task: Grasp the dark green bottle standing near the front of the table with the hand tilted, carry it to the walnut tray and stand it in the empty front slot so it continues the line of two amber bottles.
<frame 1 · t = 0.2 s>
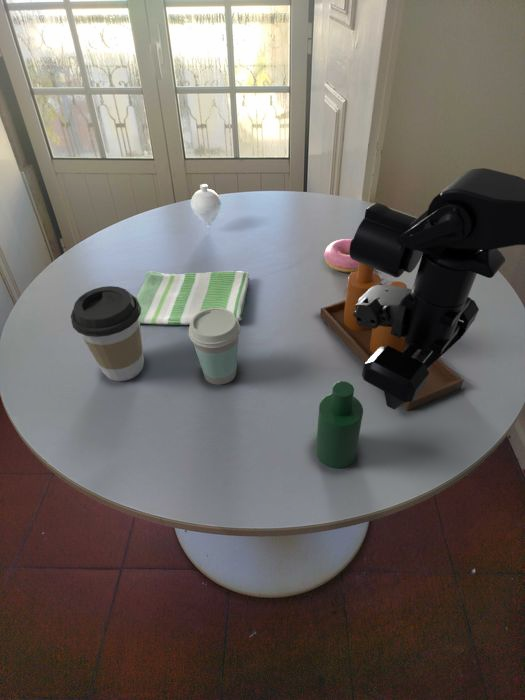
hand: (408, 386, 62), 14 cm above the table, tool pointing down, fingers open, 9 cm apart
doughnut: (347, 263, 110), on the table
spinning top: (209, 229, 125), on the table
dish towel: (192, 301, 101), on the table
green bottle: (335, 451, 71), on the table
coffee cup 2: (124, 368, 86), on the table
tray: (384, 348, 88), on the table
amber bottle 1: (385, 348, 87), resting on tray
coffee cup: (220, 374, 84), on the table
amber bottle 2: (358, 321, 93), resting on tray
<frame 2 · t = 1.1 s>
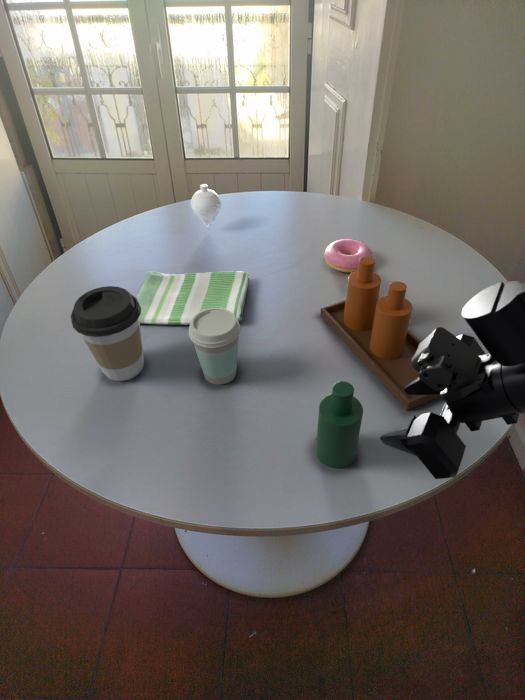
hand: (394, 414, 60), 13 cm above the table, tool tilted 45°, fingers open, 9 cm apart
nothing on the table moved.
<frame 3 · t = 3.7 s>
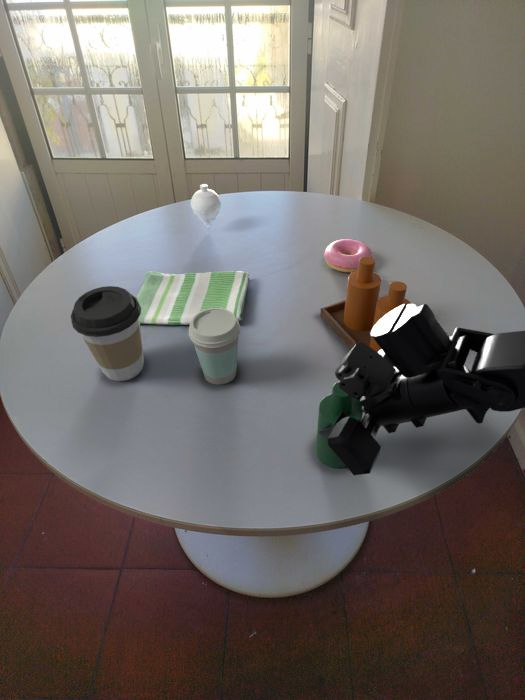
hand: (330, 418, 67), 7 cm above the table, tool tilted 45°, fingers closed on green bottle, 6 cm apart
green bottle: (335, 451, 71), on the table, touching gripper
everything else where it was.
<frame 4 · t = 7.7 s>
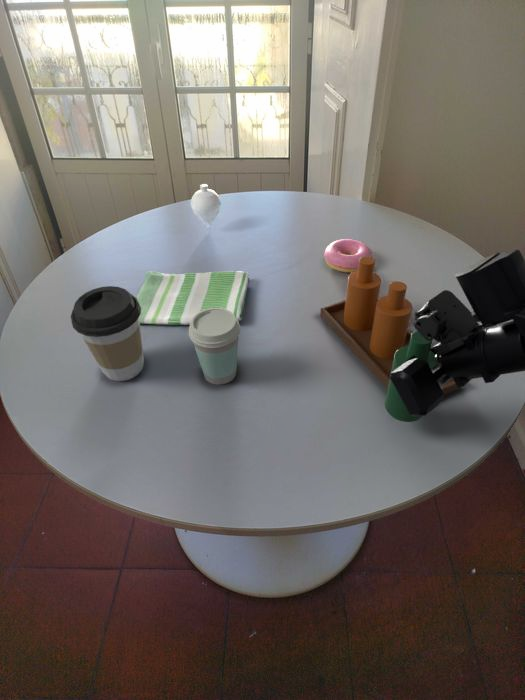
hand: (405, 369, 68), 11 cm above the table, tool tilted 45°, fingers closed on green bottle, 6 cm apart
green bottle: (404, 406, 72), point 4 cm above the table, touching gripper
everything else where it was.
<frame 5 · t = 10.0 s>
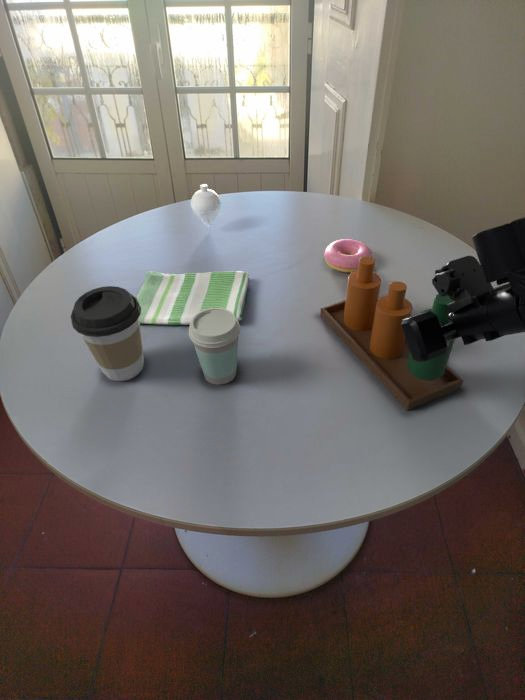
hand: (428, 329, 74), 11 cm above the table, tool tilted 45°, fingers closed on green bottle, 6 cm apart
green bottle: (425, 367, 78), point 4 cm above the table, touching gripper
everything else where it was.
when the fingers open (8 cm above the table, at t = 11.7 s): green bottle stays where it is, resting on tray.
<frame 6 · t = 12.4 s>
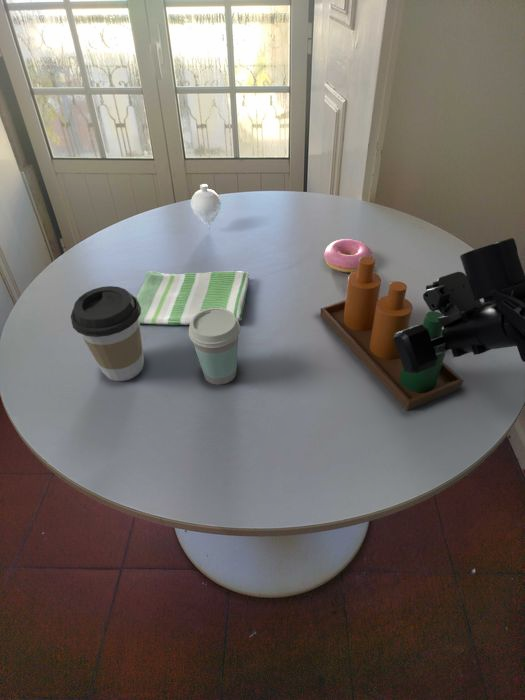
hand: (421, 340, 76), 8 cm above the table, tool tilted 45°, fingers open, 9 cm apart
green bottle: (417, 380, 81), resting on tray
everything else where it was.
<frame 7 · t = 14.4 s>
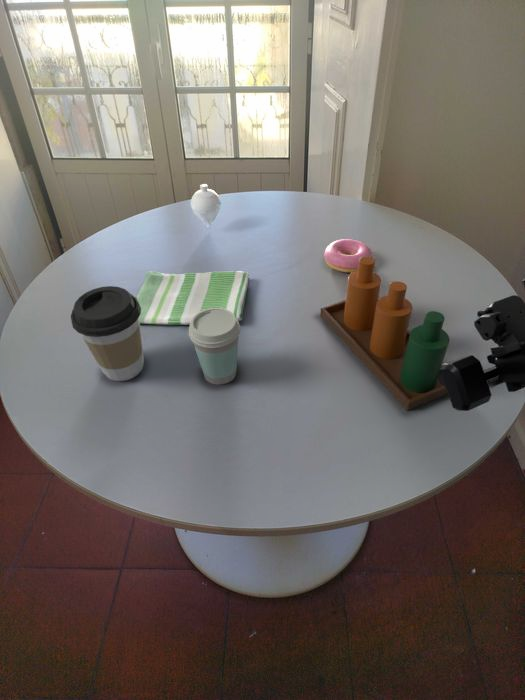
hand: (464, 369, 69), 10 cm above the table, tool tilted 45°, fingers open, 9 cm apart
nothing on the table moved.
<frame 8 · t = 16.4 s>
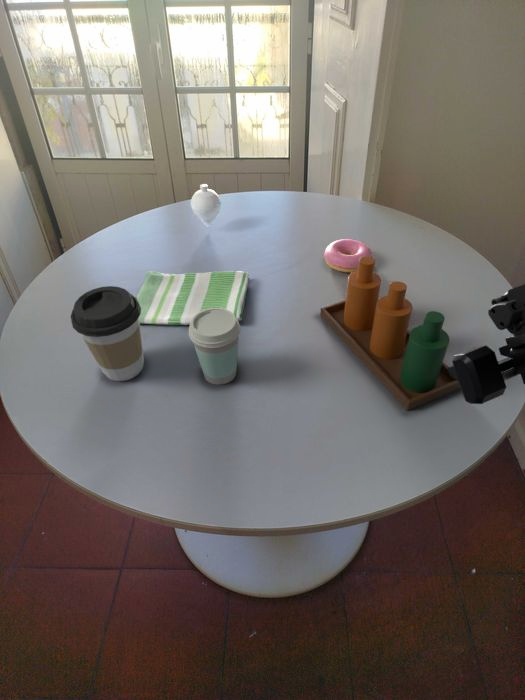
hand: (475, 361, 66), 13 cm above the table, tool tilted 45°, fingers open, 9 cm apart
nothing on the table moved.
at the end: green bottle 0.1 cm from the target spot in the tray, point 0.5 cm above the tray's base; green bottle tilted 0°; the gripper is holding nothing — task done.
